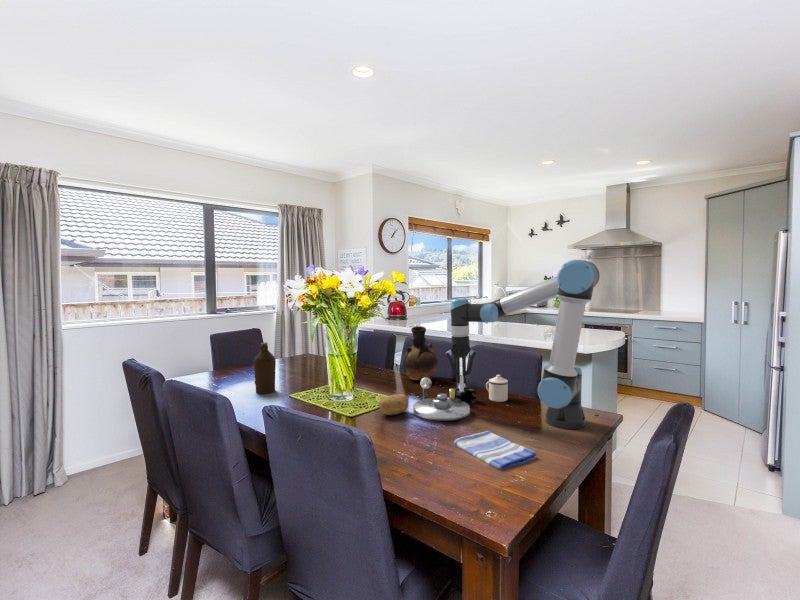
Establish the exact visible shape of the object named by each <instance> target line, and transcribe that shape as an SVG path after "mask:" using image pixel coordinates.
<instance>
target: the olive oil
mask: <svg viewBox="0 0 800 600" xmlns="http://www.w3.org/2000/svg"><path fill="white" fill-rule="evenodd" d="M268 344H269V343H268V342H261V343H260V351H259V353H258V354H256V355H255V357H254V359H253V371H254V385H255V393H256V394H259V395H265V394H267V395H268V394H271V393H275V392H276V365H277V364H276V362H277V361H276V357H275V356H274V355H273V353H272V352H270V350H269V347H268V346H269V345H268Z"/></svg>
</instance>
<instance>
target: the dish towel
mask: <svg viewBox="0 0 800 600" xmlns="http://www.w3.org/2000/svg"><path fill="white" fill-rule="evenodd" d="M453 445H454V446H456V447H458V448H459V449H461V450H462V451H464V452H466V453H467V454H469V455H471V456H473V457H475V458H476V459H478V460H480V461H481V462H483V463H484V464H487V465H489V466H491V467H493V468H495V469H496V470H500V471H502V470H505V469H509V468H512V467H516V466H519V465H522V464H524V463H528V462H531V461H534V460H537V457H536V456H537V452H535V450H533V449H530V448H527V447H525V446H523V445H520V444H518V443H514V442H512V441H510V440H509V439H507V438H504V437H502V436H500V435H498V434H495V433H493V432H492V431H491V430H486V431H482V432H478V433H477V432H476V433H473V434H471V435H470V434H469V435H466V436H462V437H461V436H460V437H459V438H456V439H455V440H454V441H453Z"/></svg>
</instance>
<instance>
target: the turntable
mask: <svg viewBox="0 0 800 600" xmlns="http://www.w3.org/2000/svg"><path fill="white" fill-rule="evenodd" d="M455 389H456V388H449V398H450V399H451V400H452V407H451V408H449V409H436V408H434V407H433V398H434V397H432V398H427V399H423V398H422V399H420V400H418V401H417V400H416V402H414V403H413V405H412V410H413V414H414V415H416V416H417V417H419V418H423V419H425V420H430V421H442V422H443V421H448V422H449V421H457V420H461V419H464V418H466V417H468V416H469V415H470V414H471V411H470V409H471V408H470V407H471V406H470V404H467V403H465V402H463V401H460V400H456V399H455Z"/></svg>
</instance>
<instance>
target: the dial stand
mask: <svg viewBox="0 0 800 600" xmlns="http://www.w3.org/2000/svg"><path fill="white" fill-rule="evenodd" d="M419 381H420V383H419V384H420V386H421V388H422V400H423V399H428V389H429V388H431V386H432V380H431V378H427V377H424V378H422V379H421V380H419Z"/></svg>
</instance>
